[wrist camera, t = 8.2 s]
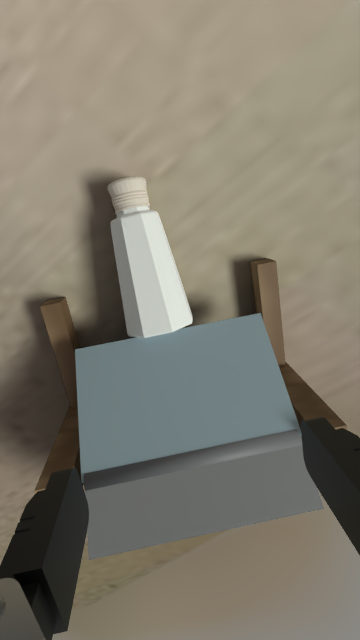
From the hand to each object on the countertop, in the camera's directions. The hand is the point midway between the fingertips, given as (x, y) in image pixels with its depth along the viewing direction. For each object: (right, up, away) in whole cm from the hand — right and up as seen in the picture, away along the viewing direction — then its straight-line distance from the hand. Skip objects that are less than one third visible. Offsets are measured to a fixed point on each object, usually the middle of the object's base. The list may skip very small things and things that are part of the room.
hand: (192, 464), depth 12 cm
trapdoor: (0, -4, +16) cm, 17 cm away
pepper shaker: (-2, +4, +15) cm, 15 cm away
